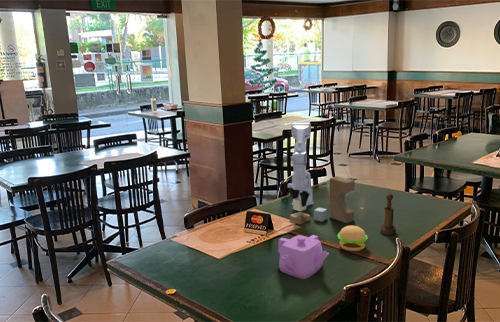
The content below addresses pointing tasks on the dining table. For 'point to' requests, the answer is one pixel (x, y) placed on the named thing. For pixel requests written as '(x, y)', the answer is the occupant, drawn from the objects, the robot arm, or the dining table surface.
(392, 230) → the brown wooden tall piece
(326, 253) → the teakettle
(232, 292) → the dining table surface
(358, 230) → the hamburger
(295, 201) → the cream block
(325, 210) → the slate block
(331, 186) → the decorative block
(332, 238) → the dining table surface
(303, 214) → the walnut slab
